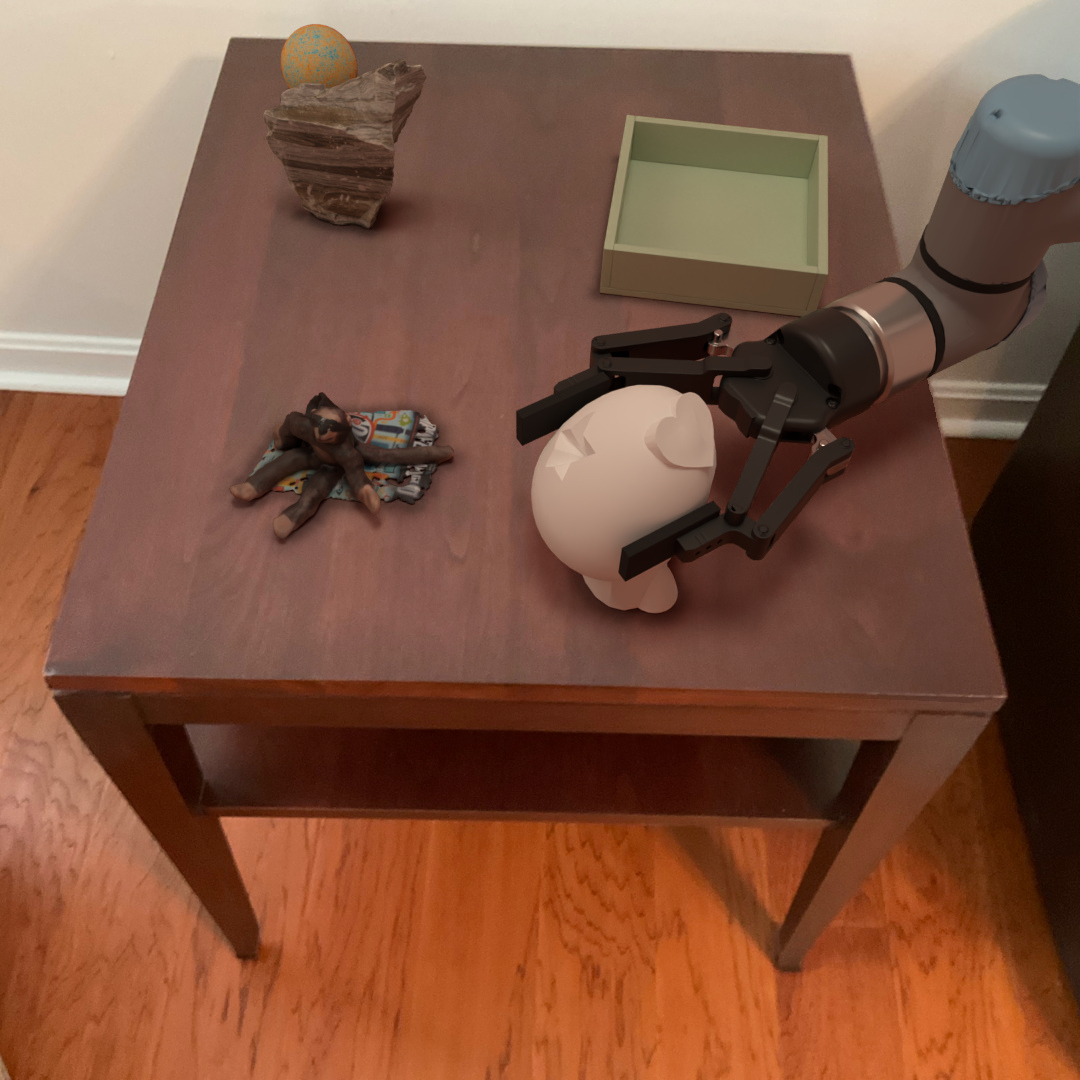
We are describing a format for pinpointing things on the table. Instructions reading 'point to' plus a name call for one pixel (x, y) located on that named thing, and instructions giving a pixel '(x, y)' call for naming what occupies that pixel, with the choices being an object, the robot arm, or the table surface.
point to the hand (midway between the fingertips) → (568, 494)
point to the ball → (317, 57)
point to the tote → (719, 216)
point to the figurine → (623, 486)
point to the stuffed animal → (344, 459)
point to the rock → (344, 140)
